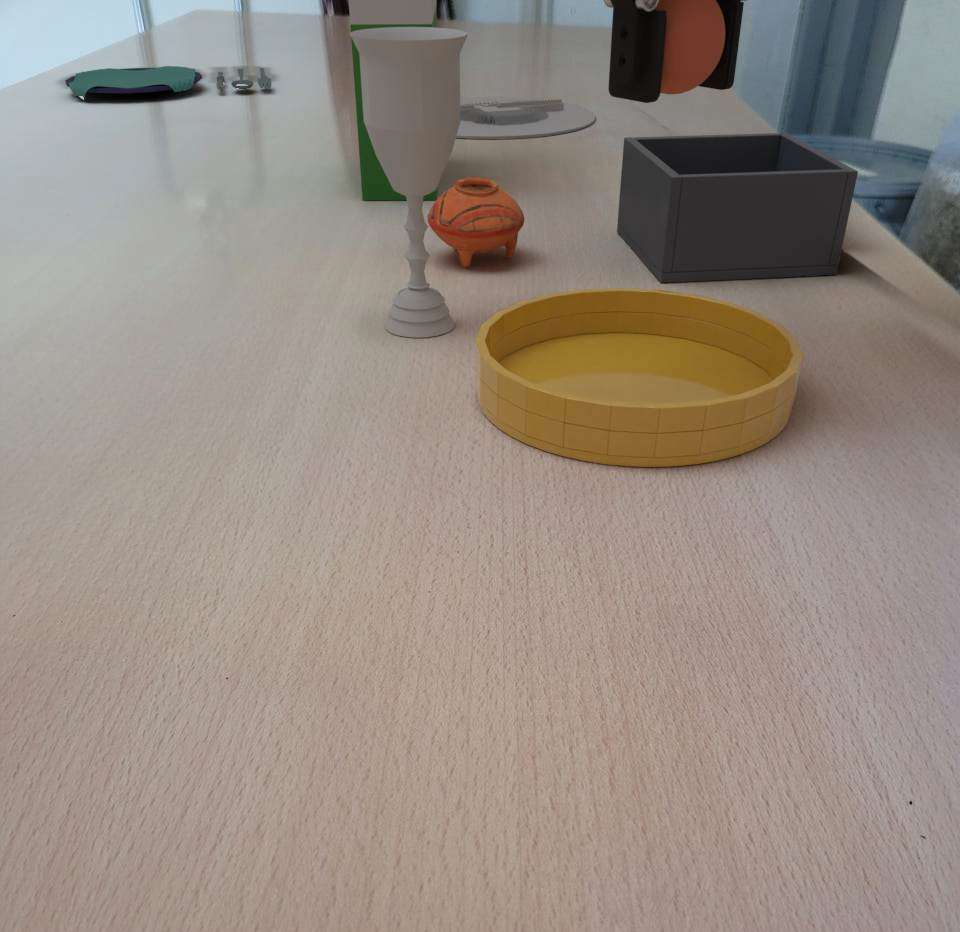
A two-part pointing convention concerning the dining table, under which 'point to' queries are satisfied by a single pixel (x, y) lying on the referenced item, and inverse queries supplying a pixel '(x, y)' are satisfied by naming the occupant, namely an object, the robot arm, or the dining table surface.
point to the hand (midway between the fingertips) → (671, 88)
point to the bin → (733, 206)
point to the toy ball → (690, 43)
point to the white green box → (370, 7)
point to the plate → (519, 118)
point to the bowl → (636, 376)
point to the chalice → (412, 143)
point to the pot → (476, 218)
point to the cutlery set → (148, 80)
